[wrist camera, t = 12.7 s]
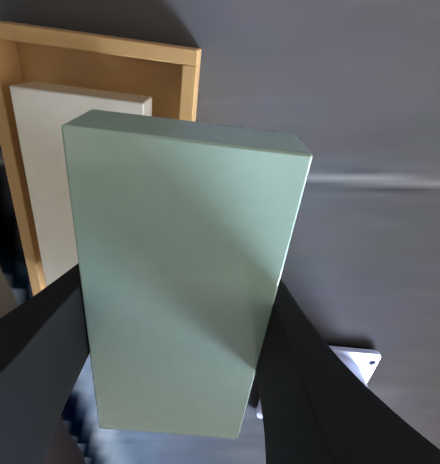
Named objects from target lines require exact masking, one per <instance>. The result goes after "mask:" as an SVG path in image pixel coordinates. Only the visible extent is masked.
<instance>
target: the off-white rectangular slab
mask: <svg viewBox="0 0 440 464" xmlns="http://www.w3.org/2000/svg"><path fill="white" fill-rule="evenodd" d="M9 88H10V94H11V99H12V104H13V110H14V115H15V120H16V126H17V131H18V137H19V142H20V147H21V153H22V158H23V163H24V169H25V174H26V180H27V185H28V190H29V196H30V201H31V206H32V212H33V217H34V223H35V228H36V233H37V239H38V244H39V249H40V255H41V260H42V266H43V271H44V276H45V282H46V287H47V286H48V285H50V284H51V283H52V282H54V281H55V280H56V279H58V278H59V277H60V276H62V275H63V274H64V273H66V272H67V271H68V270H70V269H71V268H72V267H74V266H75V265H76V264H78V256H77V248H76V240H75V232H74V224H73V216H72V209H71V201H70V193H69V185H68V177H67V169H66V162H65V154H64V146H63V138H62V130H61V127H62V125H63V124H65V123H67V122H69V121H71V120H72V119H74V118H76V117H78V116H80V115H82V114H84V113H86V112H88V111H89V110H92V109H96V110H104V111H112V112H121V113H129V114H137V115H145V116H152V97H151V96H144V95H136V94H128V93H121V92H113V91H106V90H98V89H91V88H83V87H76V86H68V85H61V84H53V83H46V82H38V81H30V82H25V83H20V84H15V85H11V86H9Z"/></svg>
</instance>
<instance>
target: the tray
mask: <svg viewBox="0 0 440 464" xmlns="http://www.w3.org/2000/svg"><path fill="white" fill-rule="evenodd" d="M200 60H201V49H200V48H194V47H187V46H180V45H172V44H165V43H158V42H151V41H144V40H137V39H130V38H123V37H116V36H108V35H101V34H94V33H87V32H80V31H73V30H66V29H59V28H52V27H45V26H37V25H30V24H23V23H16V22H9V21H0V145H1V150H2V154H3V159H4V164H5V168H6V173H7V178H8V182H9V187H10V191H11V196H12V201H13V205H14V210H15V214H16V219H17V224H18V228H19V233H20V238H21V242H22V247H23V251H24V256H25V261H26V265H27V270H28V275H29V279H30V284H31V288H32V293H33V296H35V295H36V294H37V293H39V292H40V291H41V290H43V289H44V288H46V282H45V276H44V271H43V266H42V260H41V255H40V249H39V244H38V239H37V233H36V228H35V223H34V217H33V212H32V206H31V201H30V196H29V190H28V185H27V180H26V174H25V169H24V163H23V158H22V153H21V147H20V142H19V137H18V131H17V126H16V120H15V115H14V110H13V104H12V99H11V94H10V88H9V86H11V85H15V84H20V83H25V82H30V81H38V82H46V83H53V84H61V85H68V86H76V87H83V88H91V89H98V90H106V91H113V92H121V93H128V94H136V95H144V96H151V97H152V116H154V117H162V118H170V119H178V120H187V121H196V109H197V97H198V85H199V73H200Z"/></svg>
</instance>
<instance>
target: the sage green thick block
mask: <svg viewBox="0 0 440 464" xmlns="http://www.w3.org/2000/svg"><path fill="white" fill-rule="evenodd" d="M61 130H62V138H63V146H64V154H65V162H66V169H67V177H68V185H69V193H70V201H71V209H72V216H73V224H74V232H75V240H76V248H77V256H78V263H79V271H80V279H81V287H82V295H83V303H84V311H85V318H86V326H87V334H88V342H89V350H90V358H91V365H92V373H93V381H94V389H95V397H96V405H97V412H98V420H99V427H100V428H105V429H118V430H131V431H144V432H157V433H170V434H183V435H196V436H209V437H222V438H235V439H237V438H238V437H239V433H240V430H241V426H242V422H243V418H244V414H245V411H246V407H247V403H248V399H249V396H250V392H251V388H252V384H253V380H254V377H255V373H256V368H257V364H258V360H259V356H260V353H261V349H262V345H263V341H264V337H265V334H266V330H267V326H268V322H269V318H270V315H271V311H272V307H273V304H274V301H275V297H276V293H277V290H278V286H279V282H280V278H281V274H282V271H283V267H284V263H285V259H286V256H287V252H288V248H289V244H290V240H291V237H292V233H293V229H294V225H295V221H296V218H297V214H298V210H299V206H300V203H301V199H302V195H303V191H304V187H305V184H306V180H307V176H308V172H309V169H310V165H311V161H312V154H311V153H310V151H309V150H308V149H307V147H306V146H305V145H304V143H303V142H302V141H301V139H300V138H299V137H298V135H297V134H294V133H285V132H277V131H269V130H261V129H252V128H244V127H236V126H228V125H219V124H211V123H203V122H195V121H187V120H178V119H170V118H162V117H154V116H145V115H137V114H129V113H121V112H112V111H104V110H96V109H92V110H89V111H88V112H86V113H84V114H82V115H80V116H78V117H76V118H74V119H72V120H71V121H69V122H67V123H65V124H63V125H62V127H61Z"/></svg>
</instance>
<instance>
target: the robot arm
mask: <svg viewBox="0 0 440 464" xmlns="http://www.w3.org/2000/svg"><path fill="white" fill-rule="evenodd" d="M89 353H90V350H89V342H88V334H87V326H86V318H85V311H84V303H83V295H82V287H81V279H80V271H79V263H78V264H76V265H75V266H74V267H72V268H71V269H70V270H68V271H67V272H66V273H64V274H63V275H62V276H60V277H59V278H58V279H56V280H55V281H54V282H52V283H51V284H50V285H48V286H47V287H46V288H44V289H43V290H41V291H40V292H39V293H37V294H36V295H35V296H33V297H32V298H30V299H29V300H27V301H26V302H24V303H23V304H21V305H20V306H18V307H17V308H16V309H14V310H12V311H11V312H9V313H8V314H6V315H5V316H3V317H2V318H0V464H43V462H44V459H45V456H46V453H47V450H48V448H49V445H50V442H51V439H52V437H53V434H54V431H55V429H56V425H57V423H58V420H59V418H60V415H61V413H62V411H63V408H64V406H65V404H66V401H67V399H68V397H69V395H70V393H71V391H72V389H73V387H74V384H75V382H76V380H77V378H78V376H79V374H80V372H81V370H82V368H83V366H84V364H85V361H86V359H87V357H88V355H89ZM380 359H381V355H380V353H379V352H378V351H377V350H370V349H360V348H349V347H339V346H329V345H328V344H327V343H326V342H325V341H324V339H323V338H322V337H321V336H320V334H319V333H318V332H317V330H316V329H315V328H314V326H313V325H312V324H311V322H310V321H309V320H308V318H307V317H306V315H305V314H304V313H303V311H302V310H301V308H300V307H299V305H298V304H297V303H296V301H295V300H294V298H293V297H292V295H291V294H290V292H289V291H288V289H287V287H286V286H285V284H284V283H283V282H282V280H281V279H280V282H279V286H278V290H277V293H276V297H275V301H274V304H273V307H272V311H271V315H270V318H269V322H268V326H267V330H266V334H265V337H264V341H263V345H262V349H261V353H260V356H259V360H258V364H257V368H256V374H257V381H258V388H259V395H260V399H259V402H258V406H257V409H256V416H257V417H259V418H263V423H264V432H265V449H266V464H440V449H438V448H437V447H436V446H434V445H433V444H432V443H431V442H429V441H428V440H427V439H426V438H425V437H423V436H422V435H421V434H420V433H418V432H417V431H416V430H415V429H413V428H412V427H411V426H410V425H409V424H407V423H406V422H405V421H404V420H403V419H402V418H400V417H399V416H398V415H397V414H396V413H395V412H393V411H392V410H391V409H390V408H389V407H388V406H387V405H386V404H385V403H384V402H382V401H381V400H380V399H379V398H378V397H377V396H376V395H375V394H374V393H373V392H372V391H371V390H370V389H369V388H368V386H367V382H368V380H369V378H370V377H371V375H372V373H373V371H374V369H375V368H376V366H377V364H378V362H379V360H380Z"/></svg>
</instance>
